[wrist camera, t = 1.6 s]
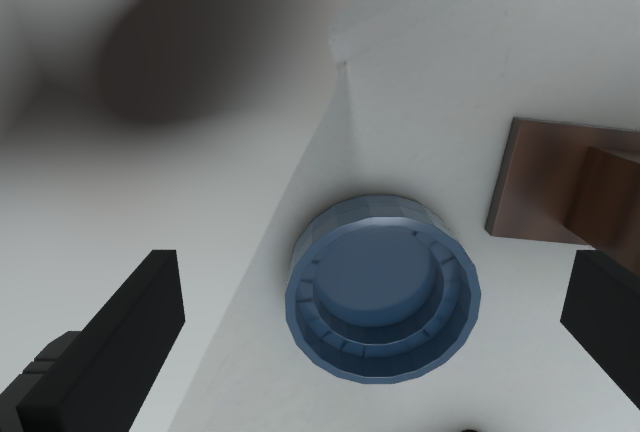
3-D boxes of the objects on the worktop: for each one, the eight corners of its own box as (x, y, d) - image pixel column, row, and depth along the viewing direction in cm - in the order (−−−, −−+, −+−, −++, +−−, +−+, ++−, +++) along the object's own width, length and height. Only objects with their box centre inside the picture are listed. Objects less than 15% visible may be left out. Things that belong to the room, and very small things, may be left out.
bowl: (258, 288, 40) (248, 325, 35) (358, 157, 36) (365, 176, 30) (386, 365, 43) (395, 411, 38) (492, 254, 39) (521, 288, 33)
